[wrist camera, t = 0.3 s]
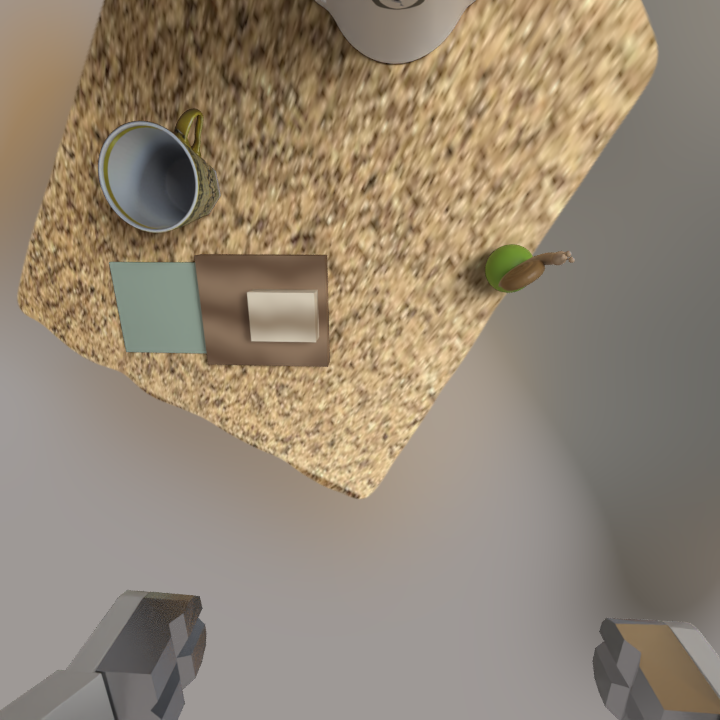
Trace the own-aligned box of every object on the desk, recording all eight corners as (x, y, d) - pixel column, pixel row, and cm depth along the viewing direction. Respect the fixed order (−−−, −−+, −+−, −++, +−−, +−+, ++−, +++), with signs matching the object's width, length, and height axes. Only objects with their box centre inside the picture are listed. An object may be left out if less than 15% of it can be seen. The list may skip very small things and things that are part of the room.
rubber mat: (111, 261, 53) (109, 262, 52) (202, 262, 52) (200, 262, 51) (128, 350, 56) (126, 351, 56) (213, 352, 56) (211, 353, 55)
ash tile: (253, 289, 51) (246, 292, 48) (317, 289, 50) (314, 292, 48) (257, 335, 52) (251, 341, 50) (319, 336, 52) (315, 342, 50)
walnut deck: (201, 254, 52) (194, 255, 50) (327, 254, 51) (324, 256, 49) (214, 359, 56) (208, 364, 54) (329, 361, 55) (327, 366, 53)
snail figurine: (542, 266, 49) (588, 279, 38) (495, 297, 51) (526, 318, 40) (519, 228, 48) (559, 230, 37) (472, 261, 50) (497, 273, 38)
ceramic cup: (207, 247, 51) (166, 253, 42) (138, 194, 50) (80, 187, 40) (264, 157, 48) (234, 141, 38) (192, 97, 46) (141, 65, 37)
